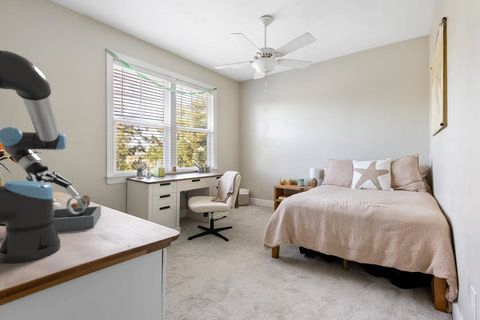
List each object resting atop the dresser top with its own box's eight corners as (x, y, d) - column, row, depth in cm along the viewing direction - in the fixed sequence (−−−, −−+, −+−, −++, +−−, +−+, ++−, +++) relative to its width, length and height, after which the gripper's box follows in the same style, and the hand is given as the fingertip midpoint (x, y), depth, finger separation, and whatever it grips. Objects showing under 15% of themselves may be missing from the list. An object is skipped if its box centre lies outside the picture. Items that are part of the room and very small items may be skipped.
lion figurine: (82, 210, 131) (82, 194, 131) (92, 210, 131) (92, 194, 131) (64, 218, 116) (64, 200, 116) (75, 218, 116) (75, 200, 116)
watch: (83, 221, 107) (82, 197, 107) (63, 222, 107) (63, 197, 106) (89, 218, 113) (89, 195, 113) (71, 218, 112) (71, 195, 112)
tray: (93, 227, 103) (93, 216, 103) (36, 233, 95) (35, 220, 95) (100, 215, 121) (100, 206, 121) (53, 219, 114) (52, 209, 114)
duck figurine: (61, 216, 126) (61, 198, 131) (61, 210, 121) (61, 191, 127) (31, 220, 119) (32, 200, 124) (30, 214, 114) (31, 193, 119)
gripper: (51, 169, 122) (79, 199, 121) (-1, 174, 97) (35, 212, 97) (61, 159, 121) (89, 189, 121) (12, 161, 96) (47, 199, 96)
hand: (65, 199), depth 109 cm, fingers open, 13 cm apart
